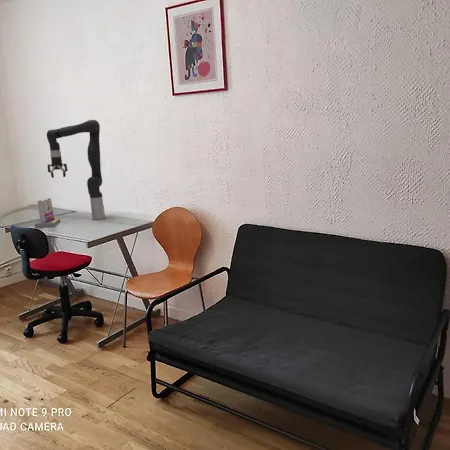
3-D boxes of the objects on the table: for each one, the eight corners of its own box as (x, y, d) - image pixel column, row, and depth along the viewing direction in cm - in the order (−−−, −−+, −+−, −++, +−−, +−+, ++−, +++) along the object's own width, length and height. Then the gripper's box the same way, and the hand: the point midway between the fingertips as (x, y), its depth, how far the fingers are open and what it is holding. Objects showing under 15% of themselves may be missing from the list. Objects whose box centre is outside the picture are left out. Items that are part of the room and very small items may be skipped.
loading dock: (60, 222, 355) (59, 217, 354) (54, 227, 340) (53, 222, 339) (41, 223, 354) (41, 218, 354) (34, 228, 339) (34, 223, 338)
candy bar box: (48, 219, 352) (45, 198, 348) (54, 219, 351) (51, 198, 347) (40, 222, 341) (37, 200, 338) (46, 222, 341) (43, 200, 337)
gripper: (66, 155, 357) (69, 176, 361) (48, 156, 356) (50, 177, 360) (64, 156, 350) (66, 177, 354) (44, 157, 349) (47, 178, 353)
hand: (58, 177), depth 357 cm, fingers open, 8 cm apart
